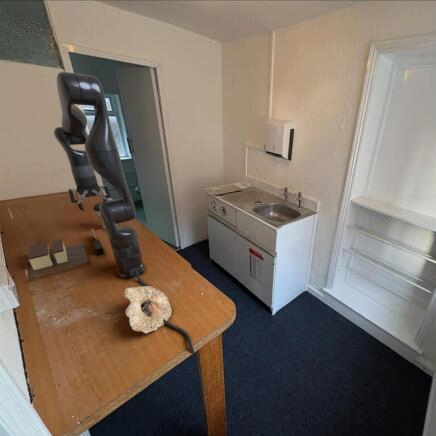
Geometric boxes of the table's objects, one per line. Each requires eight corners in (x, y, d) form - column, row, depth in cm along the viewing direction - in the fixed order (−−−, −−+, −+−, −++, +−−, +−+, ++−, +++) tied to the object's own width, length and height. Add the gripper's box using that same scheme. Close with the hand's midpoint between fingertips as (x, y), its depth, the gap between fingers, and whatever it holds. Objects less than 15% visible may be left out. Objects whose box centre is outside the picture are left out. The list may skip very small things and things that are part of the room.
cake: (52, 265, 99) (47, 253, 97) (33, 270, 96) (28, 258, 93) (51, 252, 107) (47, 241, 104) (34, 257, 103) (29, 245, 101)
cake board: (89, 263, 104) (88, 261, 104) (31, 280, 93) (30, 277, 92) (84, 245, 117) (83, 242, 116) (32, 257, 105) (31, 254, 105)
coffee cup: (115, 223, 140) (109, 200, 133) (124, 228, 135) (118, 204, 129) (96, 229, 132) (88, 204, 126) (105, 234, 128) (97, 209, 121)
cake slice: (67, 261, 102) (63, 249, 100) (57, 263, 100) (52, 252, 98) (65, 249, 110) (61, 238, 108) (56, 251, 108) (52, 240, 106)
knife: (105, 256, 110) (101, 245, 107) (99, 258, 108) (95, 246, 106) (98, 238, 123) (95, 228, 120) (92, 240, 122) (89, 229, 119)
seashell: (175, 330, 84) (181, 318, 81) (128, 349, 73) (133, 336, 69) (158, 290, 92) (163, 278, 89) (114, 302, 81) (118, 288, 78)
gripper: (62, 178, 96) (75, 214, 103) (105, 174, 105) (114, 207, 112) (62, 174, 101) (74, 209, 108) (102, 171, 110) (111, 203, 117)
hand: (94, 208), depth 110 cm, fingers open, 8 cm apart
